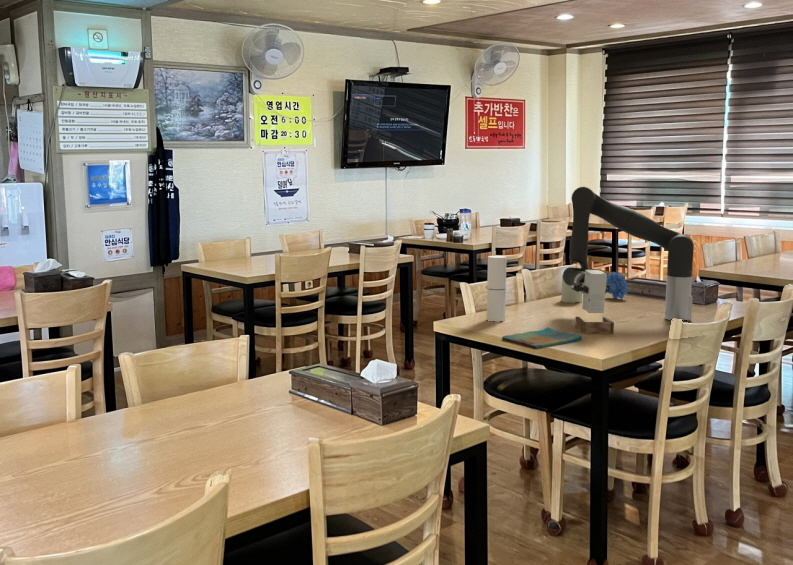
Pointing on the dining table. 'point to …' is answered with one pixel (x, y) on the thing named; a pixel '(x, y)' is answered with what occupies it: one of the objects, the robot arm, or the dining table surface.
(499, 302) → the cylindrical container
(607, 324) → the bracket
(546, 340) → the dish towel
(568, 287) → the can
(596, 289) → the skincare box
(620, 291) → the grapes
